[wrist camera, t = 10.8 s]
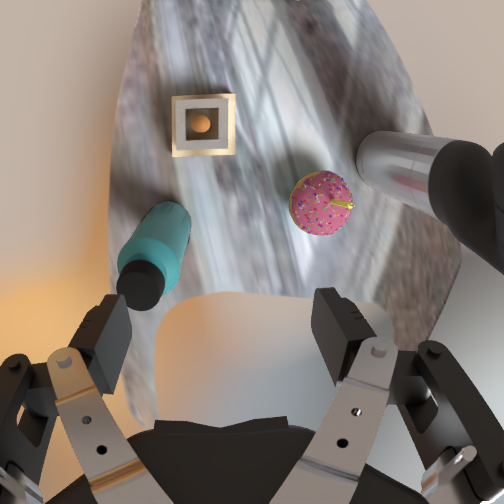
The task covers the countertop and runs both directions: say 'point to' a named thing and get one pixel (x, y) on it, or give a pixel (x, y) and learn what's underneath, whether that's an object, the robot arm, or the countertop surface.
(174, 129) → the keeper
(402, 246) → the countertop surface
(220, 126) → the link
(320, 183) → the cupcake
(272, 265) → the countertop surface
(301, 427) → the robot arm
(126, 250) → the beverage bottle
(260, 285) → the countertop surface
